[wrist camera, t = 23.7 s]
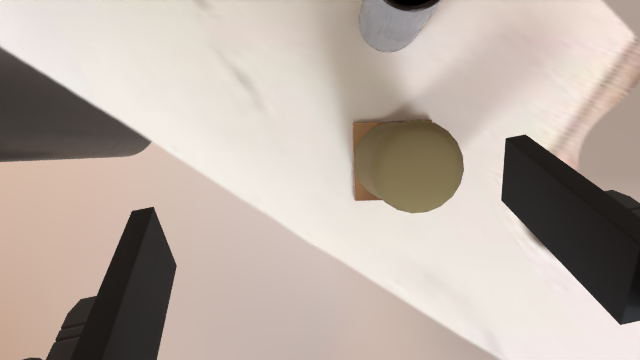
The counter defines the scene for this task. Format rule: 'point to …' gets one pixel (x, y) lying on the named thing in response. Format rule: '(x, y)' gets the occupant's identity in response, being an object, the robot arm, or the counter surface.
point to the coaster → (358, 133)
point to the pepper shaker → (409, 164)
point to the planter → (394, 21)
